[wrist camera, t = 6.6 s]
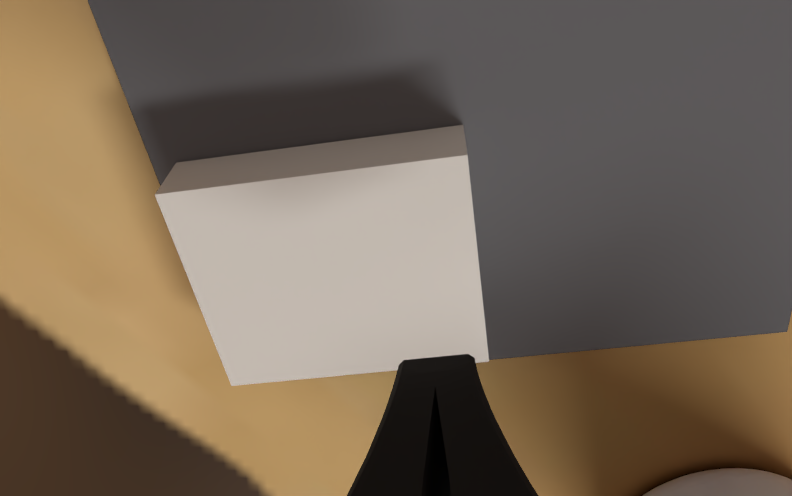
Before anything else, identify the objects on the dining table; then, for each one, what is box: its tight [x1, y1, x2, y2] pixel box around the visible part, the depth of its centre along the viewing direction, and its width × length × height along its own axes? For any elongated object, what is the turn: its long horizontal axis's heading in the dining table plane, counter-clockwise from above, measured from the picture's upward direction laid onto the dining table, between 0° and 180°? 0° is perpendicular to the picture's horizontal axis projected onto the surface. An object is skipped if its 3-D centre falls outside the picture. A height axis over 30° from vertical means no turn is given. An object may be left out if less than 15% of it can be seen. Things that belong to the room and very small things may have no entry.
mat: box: [88, 0, 792, 360], centre depth 14 cm, size 16×20×1 cm
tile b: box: [155, 125, 489, 386], centre depth 17 cm, size 2×6×7 cm
